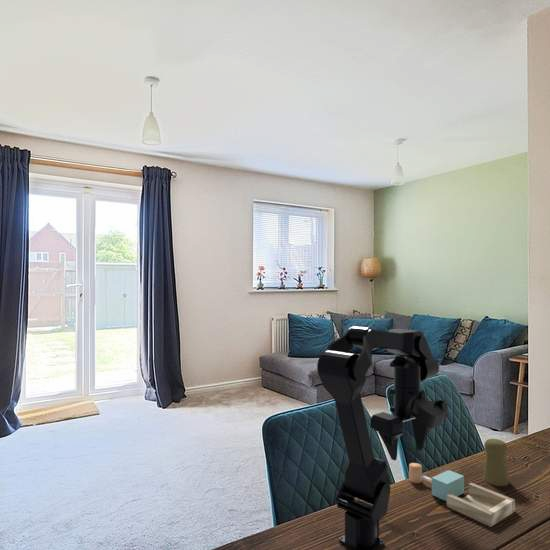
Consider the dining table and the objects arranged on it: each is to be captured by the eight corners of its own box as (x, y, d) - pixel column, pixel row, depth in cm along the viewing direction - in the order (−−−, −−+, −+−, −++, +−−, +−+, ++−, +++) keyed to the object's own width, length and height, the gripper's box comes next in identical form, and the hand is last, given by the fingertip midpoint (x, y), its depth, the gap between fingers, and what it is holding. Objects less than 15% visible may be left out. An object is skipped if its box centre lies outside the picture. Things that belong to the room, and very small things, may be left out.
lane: (490, 531, 92) (490, 514, 92) (446, 510, 100) (446, 495, 100) (514, 515, 98) (514, 499, 98) (471, 497, 106) (471, 482, 106)
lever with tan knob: (447, 505, 102) (447, 484, 102) (401, 484, 112) (401, 465, 112) (463, 496, 106) (463, 475, 106) (418, 477, 116) (418, 458, 116)
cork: (483, 476, 117) (483, 434, 117) (510, 482, 114) (510, 438, 114) (481, 486, 112) (480, 442, 112) (508, 492, 108) (508, 446, 108)
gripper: (410, 400, 89) (411, 479, 89) (463, 386, 100) (463, 456, 100) (368, 388, 98) (368, 460, 98) (420, 377, 109) (420, 441, 109)
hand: (407, 454), depth 101 cm, fingers open, 9 cm apart
